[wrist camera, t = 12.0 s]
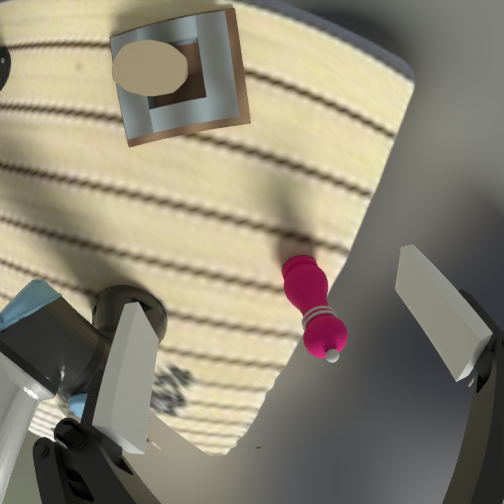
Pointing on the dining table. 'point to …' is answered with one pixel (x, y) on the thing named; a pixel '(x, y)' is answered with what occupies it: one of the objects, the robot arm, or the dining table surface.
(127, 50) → the handle
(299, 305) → the pepper mill
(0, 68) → the milk frother
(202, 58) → the frame
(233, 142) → the dining table surface
